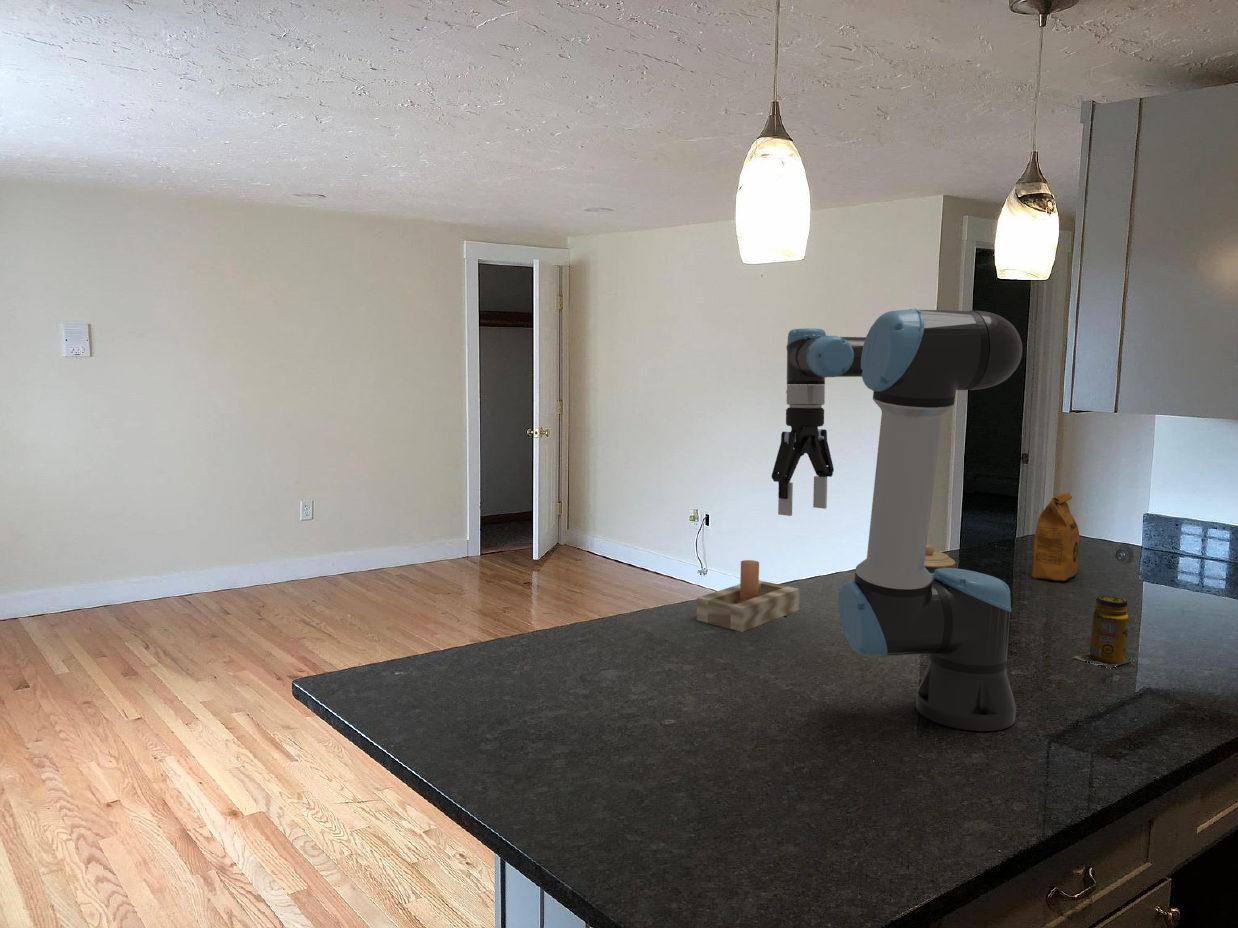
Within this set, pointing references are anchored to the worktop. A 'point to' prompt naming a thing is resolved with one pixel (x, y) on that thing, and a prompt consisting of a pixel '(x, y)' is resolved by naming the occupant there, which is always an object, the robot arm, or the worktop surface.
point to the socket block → (747, 606)
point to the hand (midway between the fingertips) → (802, 511)
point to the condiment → (1108, 631)
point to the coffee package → (1056, 541)
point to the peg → (749, 580)
